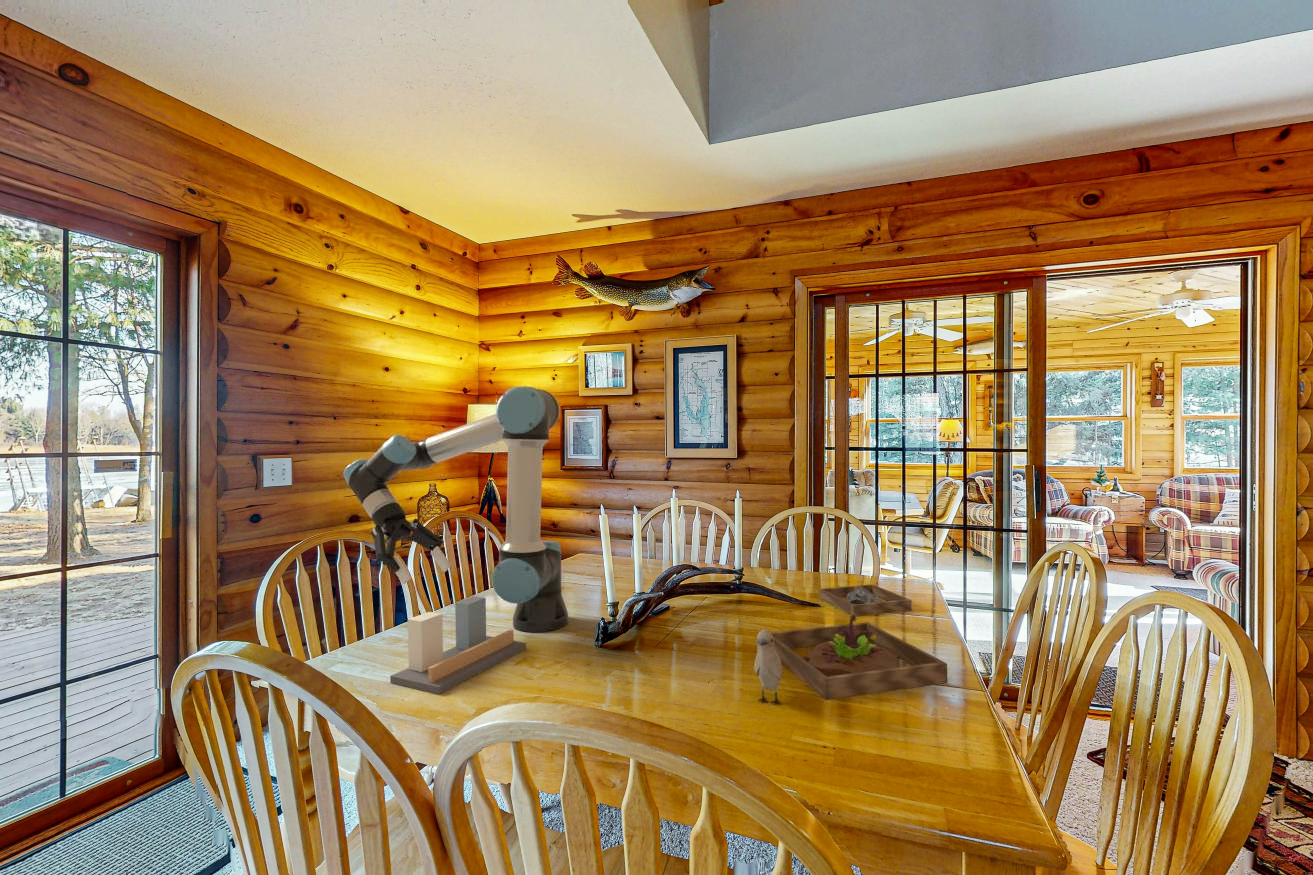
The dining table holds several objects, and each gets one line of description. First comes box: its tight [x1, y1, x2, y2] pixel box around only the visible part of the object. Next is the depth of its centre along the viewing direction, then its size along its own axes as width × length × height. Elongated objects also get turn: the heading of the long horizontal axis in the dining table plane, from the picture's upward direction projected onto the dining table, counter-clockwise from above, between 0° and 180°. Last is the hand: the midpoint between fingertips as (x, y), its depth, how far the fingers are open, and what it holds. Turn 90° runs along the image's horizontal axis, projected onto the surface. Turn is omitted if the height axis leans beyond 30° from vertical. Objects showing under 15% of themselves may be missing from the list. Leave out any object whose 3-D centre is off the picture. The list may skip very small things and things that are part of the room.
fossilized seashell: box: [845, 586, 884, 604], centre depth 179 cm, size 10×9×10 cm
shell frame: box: [818, 583, 912, 617], centre depth 179 cm, size 19×19×3 cm
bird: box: [753, 628, 783, 706], centre depth 115 cm, size 5×14×15 cm, turn 158°
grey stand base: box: [389, 629, 527, 695], centre depth 137 cm, size 14×28×4 cm, turn 154°
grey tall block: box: [454, 595, 487, 650], centre depth 145 cm, size 4×6×11 cm, turn 154°
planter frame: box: [769, 621, 948, 701], centre depth 133 cm, size 28×28×4 cm
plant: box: [803, 614, 900, 677], centre depth 133 cm, size 20×20×11 cm
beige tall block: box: [407, 611, 444, 672], centre depth 132 cm, size 4×6×11 cm, turn 154°
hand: (428, 574), depth 149 cm, fingers open, 13 cm apart
